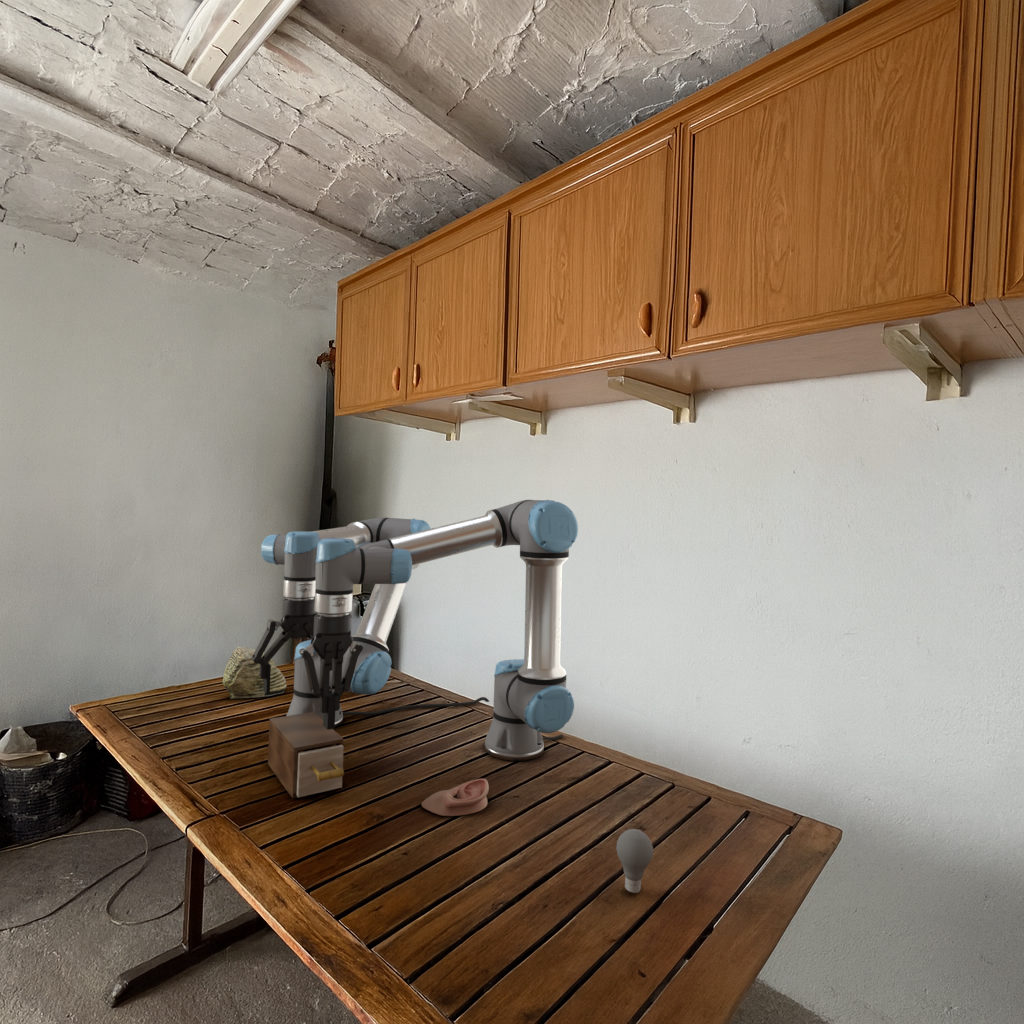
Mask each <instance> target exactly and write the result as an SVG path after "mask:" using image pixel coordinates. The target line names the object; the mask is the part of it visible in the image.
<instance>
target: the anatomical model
mask: <svg viewBox="0 0 1024 1024" xmlns="http://www.w3.org/2000/svg"><path fill="white" fill-rule="evenodd" d="M489 787H490V785H489V782H488V780H487V779H486V778H477V779H473V780H469V781H467V782H464V783H461V784H459V785H456V786H454V787H452V788H449V789H445V790H439V791H437V792H434V793H432V794H430V795H429V796H427V797H426V798H425V799H424V800H423V801H422V802H421V807H422V808H423V809H425V810H427V811H429V812H431V813H432V814H436V815H438V816H443V817H455V816H456V817H457V816H466V815H470V814H474V813H477V812H481V811H482V810H484V809H485V808H486V807H487V806H488V797H487V795H488V794H489V791H490V790H489Z"/></svg>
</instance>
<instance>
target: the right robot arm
mask: <svg viewBox="0 0 1024 1024" xmlns="http://www.w3.org/2000/svg"><path fill="white" fill-rule="evenodd" d="M576 517H577V516H576V515H575V513H574V512H573V510H571V508H570V507H569V506H568V505H566V504H565V503H562V502H560V501H559V502H558V501H555V500H551V499H544V500H543V499H538V500H537V499H523V500H519V501H516V502H513V503H510V504H507V505H504V506H500V507H498V508H494V509H490V510H489V509H488V510H486V512H485V514H484V515H482V516H477V517H474V518H469V519H465V520H462V521H457V522H453V523H449V524H445V525H441V526H437V527H432V528H431V529H428V530H424V531H420V532H415V533H411V534H407V535H403V536H399V537H395V538H391V539H387V540H382V541H378V542H374V543H372V542H366V543H362V544H360V545H358V546H357V547H356V546H355V542H354V540H352V539H345V538H324V539H321V540H320V541H319V542H318V547H317V558H316V582H315V597H314V598H315V605H314V611H315V612H316V615H315V616H314V635H313V638H312V637H311V639H310V640H311V644H310V645H309V646H307V647H306V648H305V649H304V648H302V649H300V651H299V653H300V654H301V656H302V657H303V659H304V662H305V667H306V671H307V676H308V681H309V685H310V690H311V692H312V693H313V694H314V695H315V696H320V705H319V709H320V711H321V712H322V713H324V716H323V726H324V727H325V728H326V729H327V730H329V729H333V730H335V728H336V727H335V711H339V708H340V706H341V697H342V696H343V693H345V692H346V693H348V692H347V691H349V689H350V685H351V682H352V678H353V674H354V670H355V667H356V663H357V659H358V656H359V654H360V653H361V651H362V650H363V646H362V645H360V644H358V643H355V642H354V641H353V638H352V626H353V625H352V624H353V622H352V621H353V615H352V614H351V612H353V597H354V596H353V593H354V585H375V584H392V585H394V584H400V583H406V582H407V583H408V582H409V581H410V580H411V577H412V571H413V570H412V566H413V565H417V564H419V565H420V564H425V563H427V562H431V561H436V560H440V559H443V558H444V559H445V558H448V557H452V556H454V555H458V554H463V553H467V552H471V551H474V550H479V549H483V548H487V547H490V546H493V547H494V548H496V549H497V548H503V547H506V546H519V559H521V560H522V561H523V562H524V563H525V597H524V599H525V600H524V601H525V602H524V603H525V604H524V648H523V649H524V655H523V656H524V657H523V658H524V659H523V658H522V659H521V658H520V659H519V658H517V659H505V660H501V661H498V662H497V663H496V664H495V669H494V674H493V675H494V676H493V677H494V683H493V686H494V687H493V688H494V689H493V708H492V709H493V710H492V711H493V713H492V720H491V723H490V726H489V729H488V731H487V734H486V737H485V740H484V750H485V752H486V753H487V754H488V755H490V756H492V757H493V758H496V759H500V760H503V761H510V762H522V761H531V760H534V759H537V758H539V757H540V756H542V755H543V754H544V752H545V743H544V741H555V740H558V739H562V738H564V734H559V735H556V736H543V735H542V734H553V733H556V732H558V731H560V730H561V729H563V728H564V727H565V725H566V724H567V723H569V721H570V720H571V718H572V717H573V714H574V710H575V699H574V696H573V694H572V692H571V691H570V690H569V689H568V688H567V671H566V669H565V668H564V667H563V666H562V664H561V645H562V643H561V640H562V638H561V637H562V636H561V635H562V589H563V565H564V563H565V562H567V561H568V560H569V558H570V548H572V546H573V544H574V543H575V542H576V540H577V538H578V534H579V524H578V519H577V518H576ZM349 647H350V648H349ZM348 648H349V651H350V652H349V654H348V658H347V661H346V665H345V669H344V673H343V676H342V663H343V655H344V654H345V653H346V651H347V650H348ZM313 650H315V651H316V652H317V654H318V655H319V656H320V684H318V679H317V674H316V669H315V665H314V661H313V658H312V656H313V655H314V653H313ZM331 659H332V690H331V691H332V694H329V679H330V664H331Z"/></svg>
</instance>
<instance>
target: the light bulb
mask: <svg viewBox="0 0 1024 1024" xmlns="http://www.w3.org/2000/svg"><path fill="white" fill-rule="evenodd" d="M615 849H616V854H617V857H618V859H619V861H620V863H621V865H622V867H623V873H624V874H623V875H624V876H625V878H624V888H625V890H627V891H628V892H630V893H634V894H635V893H639V892H640V891H641V889H642V887H641V886H642V879H643V877H644V875H645V871H646V868H647V867H648V866H649V864H650V863H651V861H652V859H653V855H654V847H653V843H652V841H651V838H649V836H648V835H647V834H646V833H645V832H643V831H642V830H641V829H636V828H629V829H627V830H625V831H623V832H622V833H621V834H620V835H619V837H618V839H617V841H616V847H615Z"/></svg>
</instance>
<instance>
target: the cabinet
mask: <svg viewBox="0 0 1024 1024" xmlns="http://www.w3.org/2000/svg"><path fill="white" fill-rule="evenodd" d="M268 723H269V724H268V747H267V748H268V750H267V765H268V767H269V768H270V769H271V771H272V772H273V773H274V775H275V776H276V778H277V779H278V780H279V782H280V784H281V785H282V786H283V788H284V789H285V790H286V791H287V793H288V794H289V796H290V797H291V799H297V798H299V797H298V796H297V768H298V751H301V750H306V749H311V748H317V747H322V746H327V745H332V744H336V746H337V745H343V746H344V737H342V736H341V735H340V734H339V733H338V732H337V731H335V729H329V730H327V729H326V728H325V727H324V726H323V719H322V718H320V717H319V716H318V715H317V714H316V713H315V712H309V713H303V714H296V715H290V716H286V715H284V716H279V717H271V718H269V722H268Z"/></svg>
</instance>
